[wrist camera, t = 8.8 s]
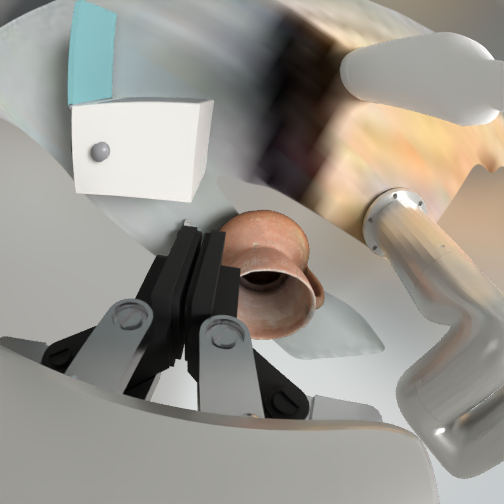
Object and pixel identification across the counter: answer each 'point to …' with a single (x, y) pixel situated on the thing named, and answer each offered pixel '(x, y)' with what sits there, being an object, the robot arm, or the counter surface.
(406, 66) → the bottle
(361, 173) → the counter surface
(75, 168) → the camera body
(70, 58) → the side door
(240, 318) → the ceramic jug
